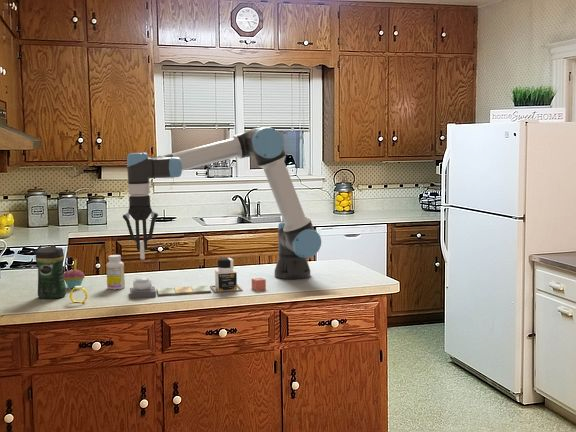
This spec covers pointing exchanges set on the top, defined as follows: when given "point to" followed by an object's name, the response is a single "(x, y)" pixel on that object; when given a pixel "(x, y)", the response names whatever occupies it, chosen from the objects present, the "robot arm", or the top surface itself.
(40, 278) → the coffee jar
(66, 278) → the cupcake
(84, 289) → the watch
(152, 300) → the top surface
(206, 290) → the track
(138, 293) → the popper base
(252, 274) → the top surface
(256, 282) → the die
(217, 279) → the medicine bottle
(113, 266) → the supplement bottle
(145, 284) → the dome
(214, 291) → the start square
